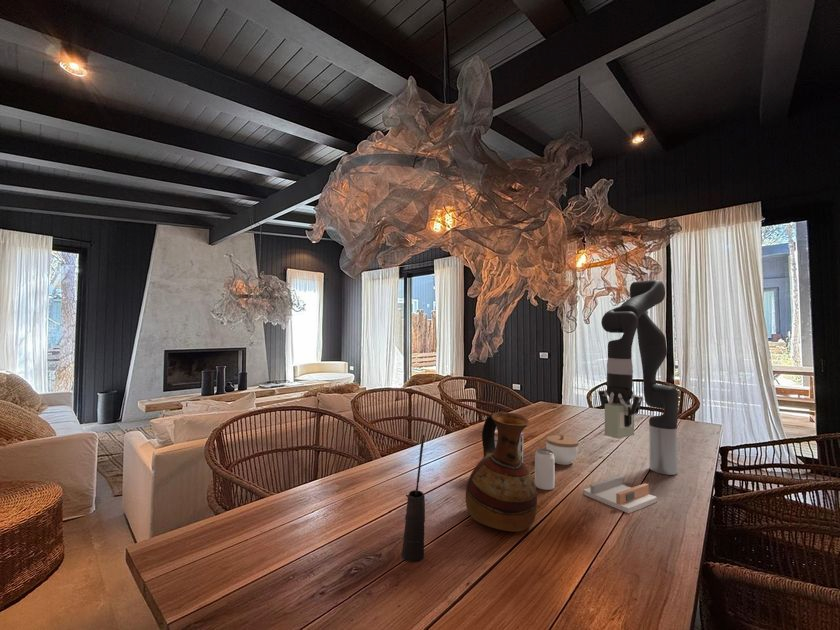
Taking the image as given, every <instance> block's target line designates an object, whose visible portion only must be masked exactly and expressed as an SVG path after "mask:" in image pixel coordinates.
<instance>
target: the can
mask: <svg viewBox="0 0 840 630" xmlns="http://www.w3.org/2000/svg"><path fill="white" fill-rule="evenodd" d="M555 464H556V463H555V457H554V455H553V451H551V450H547V448H539V449H536V450H535V454H534V484H535V488H536V489H539V490H542V491H552V490H554V489H555V484H556V483H555V474H556V473H555V469H556V467H555Z"/></svg>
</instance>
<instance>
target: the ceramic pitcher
mask: <svg viewBox="0 0 840 630" xmlns="http://www.w3.org/2000/svg"><path fill="white" fill-rule="evenodd" d="M529 423H530V419H529V418H527V417H525V416H524V415H521V414H518V413H514V412H509V411H506V412H504V411H497V412H492V413H490V415H488V416H487V417H486V418H485V420H484V424H483V428H482V430H481V431H482V432H481V440H482V441H481V442H482V448H483V457H482V458H481V460H479V462H478V463H477V464H476V466H475V467H474V469H473V470H472V471H471V473H470V476H469V478H468V480H467V484H466V487H465V507H466V510H467V512H468V514H469V515H470V516H471V518H472V519H474V520H475V521H476V522H477V523H480V524H482V525H484V526H487V527H490V528H493V529H497V530H500V531H506V532H511V533H512V532H522V531H525V530H527V529H529V528H530V526H532V524H533V523H534V522H535V519H536V515H537V508H538V495H537V487H536V486H535V480H534V478H533V476H532V474H531V472H530V470H529V469H528V467H527V465H525V464H524V462H523V463H522V461H520V460H519V457H518V444H519V439H520V435H521V433H523V431H524V429H525V428H527V427H528V426H529ZM496 428H497V429H496ZM495 430H497V431H498V440H497V445H496V448H495Z"/></svg>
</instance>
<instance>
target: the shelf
mask: <svg viewBox="0 0 840 630" xmlns="http://www.w3.org/2000/svg"><path fill="white" fill-rule="evenodd" d="M649 489H650V487H649V484H648V483H641V484H638V485H636V486H632V487H631V486H628V485H625V484H623V476H620V475H617V476H615V477H611V478H608V479H604V480H602V481H598V482H595V483H592V484H591V483H590V487H588V488H585V489H583V492H582V493H583V495H584V496H586V497H589V498H590V499H594V500H596V501H597V502H600V503H602V504H606V505H608V506H609V507H612V508H615V509H617V510H620V511H622V512H623V513H626V514H631V513H634V512H636V511H638V510H640V509H643V508H646V507H648V506H650V505H653V504H655V503H657V502H658V497H657V496H655V495H652V494H649V493H650V490H649Z"/></svg>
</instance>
